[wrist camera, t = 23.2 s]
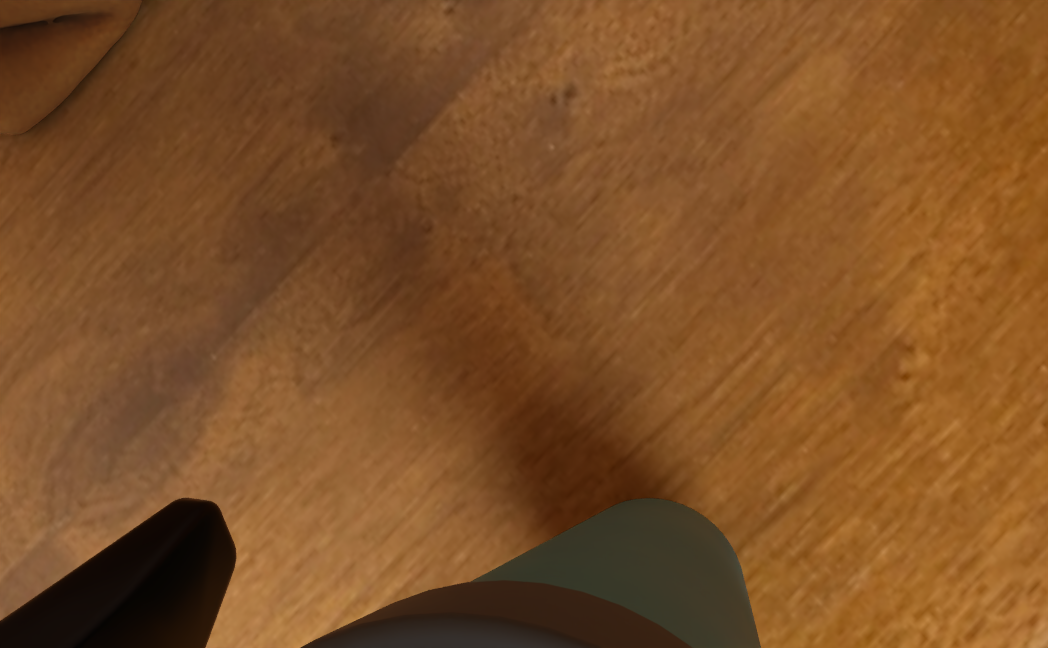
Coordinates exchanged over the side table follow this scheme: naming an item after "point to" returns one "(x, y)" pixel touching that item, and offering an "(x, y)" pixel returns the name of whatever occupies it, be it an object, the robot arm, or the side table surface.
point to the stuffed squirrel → (52, 52)
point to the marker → (585, 592)
